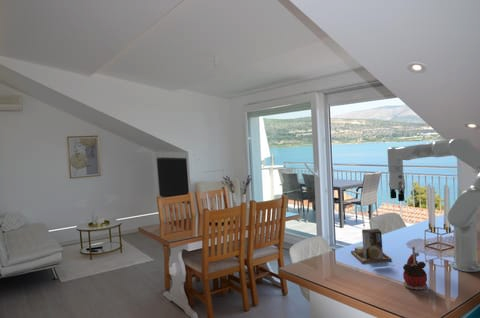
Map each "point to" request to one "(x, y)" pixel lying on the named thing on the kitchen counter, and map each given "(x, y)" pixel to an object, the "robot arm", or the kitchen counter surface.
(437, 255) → the kitchen counter surface
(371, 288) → the kitchen counter surface
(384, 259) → the tray
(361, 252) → the beech block
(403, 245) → the kitchen counter surface
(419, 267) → the cake
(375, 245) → the coffee box
